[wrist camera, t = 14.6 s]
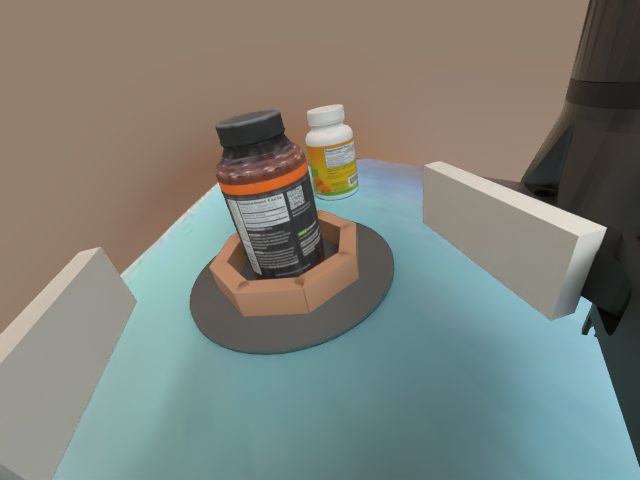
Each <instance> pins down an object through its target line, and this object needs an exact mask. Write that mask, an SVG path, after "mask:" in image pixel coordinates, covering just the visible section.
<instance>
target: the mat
mask: <svg viewBox="0 0 640 480" xmlns="http://www.w3.org/2000/svg"><path fill="white" fill-rule="evenodd" d="M351 222H353V221H351ZM354 223H356V222H354ZM356 229H357V237H358V254H359V278H358V279H357V280H356V281H354V282H353V283H351V284H350V285H349V286H347V287H346V288H344V289H343V290H342V291H340V292H339V293H337V294H336V295H334V296H333V297H332V298H330V299H329V300H327V301H326V302H325V303H323V304H322V305H320V306H319V307H318V308H316V309H315V310H313V311H312V312H311V313H307V314H286V315H265V316H243V315H242V314H241V313H240V312H239V311H238V310H237V308H236V307H235V306H234V305H233V304H232V303H231V302H230V300H229V299H228V298H227V297H226V296H225V295H224V293H223V292H222V291H221V290H220V289H219V287H218V285H217V283H216V281H215V279H214V276H213V274H212V272H211V270H210V268H209V266H210V265H211V264H212V262H213V261H214V259H215V258H216V256H215V257H214V258H213V259H212V260H211V261H210V262H209V263H208V264H207V265H206V267H205V268H204V269H203V270H202V271H201V273H200V274H199V276H198V278H197V279H196V281H195V283H194V286H193V288H192V291H191V295H190V309H191V314H192V316H193V319H194V321H195V323H196V325H197V326H198V328H199V329H200V330H201V332H202V333H203V334H204V335H205V336H206V337H207V338H209V339H210V340H211V341H212V342H214V343H216V344H218V345H220V346H222V347H224V348H227V349H230V350H233V351H237V352H243V353H248V354H267V355H268V354H280V353H288V352H293V351H299V350H303V349H307V348H310V347H313V346H316V345H320V344H322V343H325V342H327V341H329V340H332V339H334V338H336V337H338V336H340V335H342V334H344V333H345V332H347V331H349V330H351V329H352V328H354V327H355V326H357V325H358V324H359V323H361V322H362V321H363V320H365V319H366V318H367V317H368V316H369V315H370V314H371V313H372V312H373V311H374V310H375V309H376V308H377V307H378V306H379V304H380V303H381V302H382V301H383V300H384V298H385V296H386V294H387V293H388V291H389V289H390V286H391V283H392V280H393V274H394V262H393V255H392V252H391V249H390V247H389V245H388V244H387V242H386V241H385V240H384V239H383V238H382V236H380V235H379V234H378V233H377V232H375V231H374V230H372V229H370V228H369V227H366V226H364V225H362V224H359V223H356ZM322 239H323V238H322ZM323 244H324V251H325V259H324V261H325V260H327V259H329V258H330V257H332V256H333V255H335V254H337V253H338V252H339V246H338V245H336V244H333V243H331V242H329V241H327V240H325V239H323ZM240 275H241V276H242V277H244V278H245V279H246V280H247V281H253V280H258V279H257V278H256V277H255V276H254V274H253V271H252V269H251V267H250V264H249V262H248V260H247V261H246V263H245V265H244V267H243V269H242V271H241V273H240Z"/></svg>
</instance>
